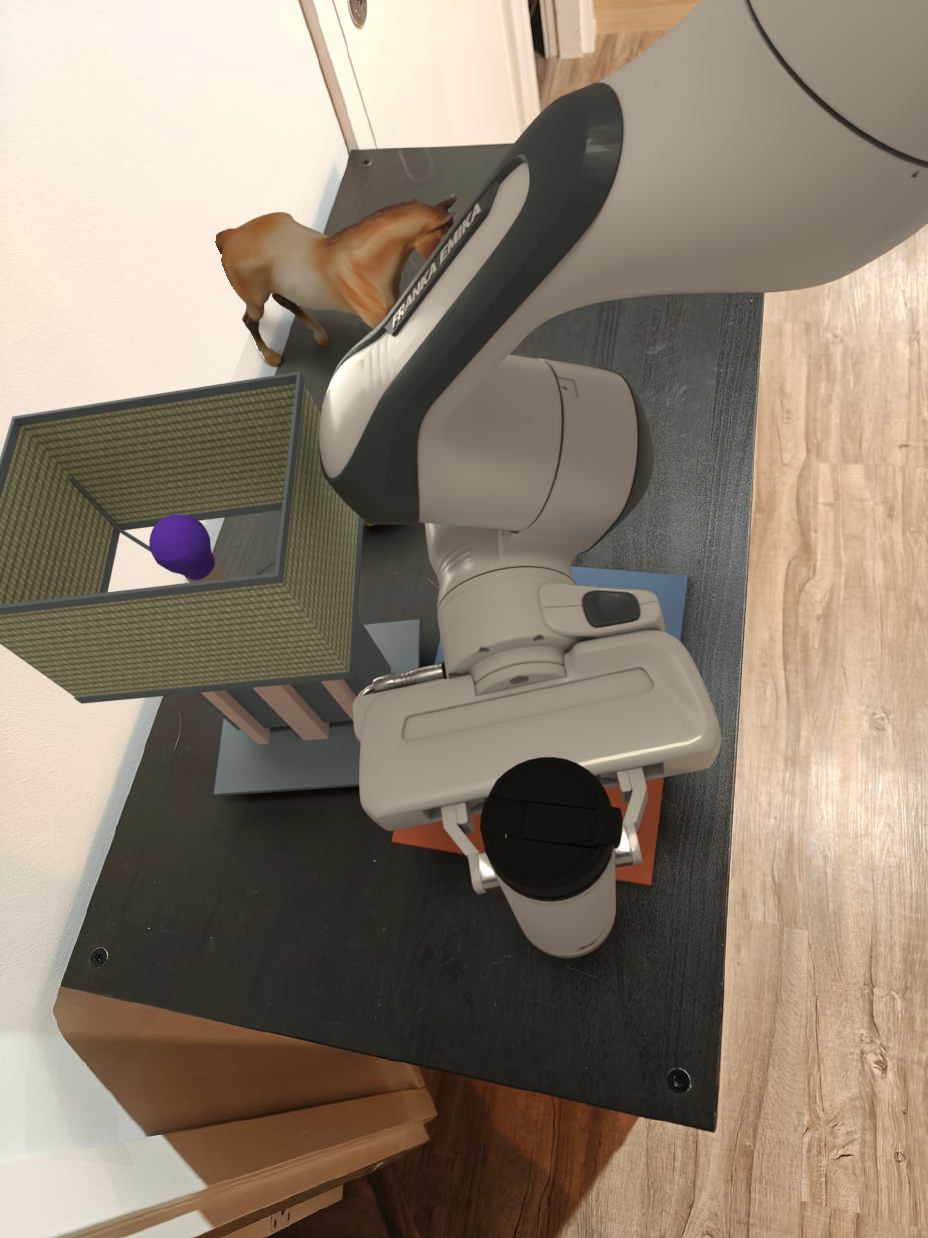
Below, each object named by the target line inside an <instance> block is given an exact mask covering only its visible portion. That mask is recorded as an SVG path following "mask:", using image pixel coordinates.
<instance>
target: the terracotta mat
mask: <svg viewBox="0 0 928 1238" xmlns="http://www.w3.org/2000/svg"><path fill="white" fill-rule="evenodd" d="M645 782H646V786H647V794H648V801H647V804H646V807H645V810H644V813H643V816H642V819H641V822H640V826H639V829H638V832H636V833H637V838H638V842H639V846H640V851H641V856H642V863H640V864H636V865H629V866H623V867H618V868H616V867H615V881H618V882H625V883H630V884H637V885H641V886H642V885H643V886H648V887H651V886H652V882H653V874H654V865H655V858H656V848H657V840H658V833H659V825H660V815H661V807H662V799H663V790H664V782H665V777H663V778H658V779H653V780H648V781H645ZM605 790H606V792H607V794H608V797H609V799H610V802H611V805H612V807H618V808H620V809H621V812H622V818H623V820H624V817H625V814H626V810H627V807H628V804H629V803H624V802H623V800H622V796H621V792H620V788H619V786H618V787H613V788H608V789H605ZM480 819H481V814H476V815H473V822H474V830H475V831H474V832H473V833H472V834H466V833H465V835H466V836H467V838H468V839H469V840H470V841H471V843H472V844H473V845H474V846H475V848H476V849H477V850H478V851H479V853H485V849H484V844H483V840H482V836H481V831H480ZM391 843H393V844H399V845H404V846H405V845H406V846H412V847H418V848H423V849H429V850H433V851H440V852H441V851H442V852H447V853H451V854H452V853H453V854H458V855H464V856H465V854H464V853H463V852H462V851H461V849H460V848H459V847H458V846H457V844H456V843H455V842H454V841H453V839H452V838H451V837H450V835H449V834H448V833H447V832H446V830H445V829H444V827H443V821H441V822H435V823H430V824H425V825H420V826H415V827H410V828H405V829H400V830H395V831H393V833H392V838H391Z"/></svg>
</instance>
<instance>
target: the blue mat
mask: <svg viewBox="0 0 928 1238" xmlns="http://www.w3.org/2000/svg"><path fill="white" fill-rule="evenodd" d="M571 573H572V576H573V579H574V581H575V583H576V585H582V586H592V587H605V588H622V589H641V590H647V591H650V592H652V593H654V594H655V595H656V596H657V598H658V601H659V603H660V606H661V609H662V613H663V618H664V623H665V632H666V633H668V634H670V635H672V636H674V637H675V638H676V639H678V640H679V641H680V642H681V641H682V632H683V624H684V615H685V608H686V600H687V599H686V598H687V590H688V583H689V576H688V575H683V574H682V575H680V574H669V573H657V572H645V571H643V572H642V571H635V570H634V571H632V570H620V569H608V568H598V567H597V568H596V567H585V566H573V565H571ZM681 643H682V642H681ZM443 661H444V657H443V650H442V644H441V638H440V639H439V643H438V646H437V652H436V656H435V660H434V664H438V663H443Z"/></svg>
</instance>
